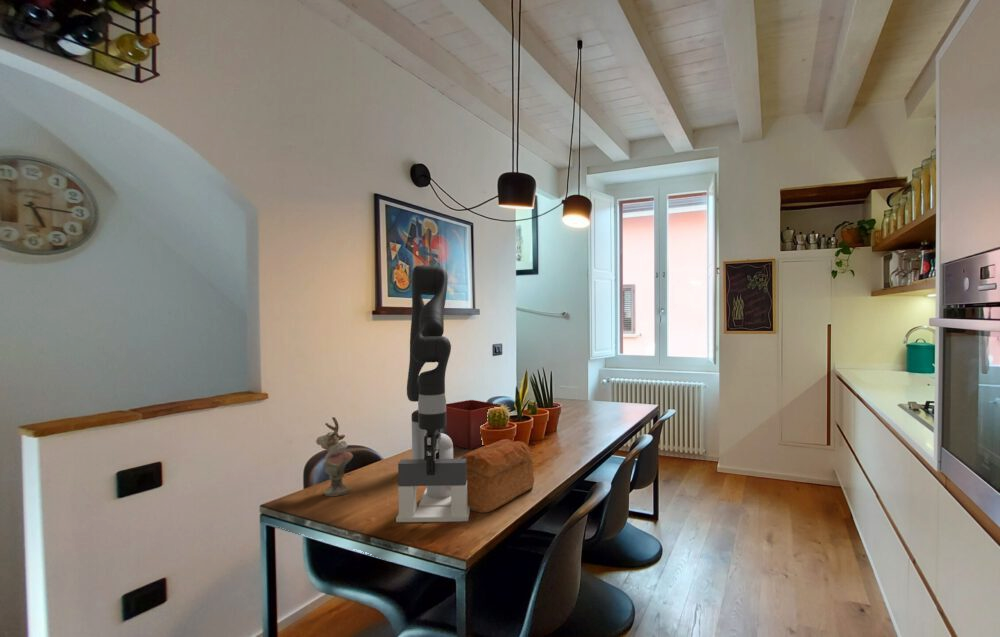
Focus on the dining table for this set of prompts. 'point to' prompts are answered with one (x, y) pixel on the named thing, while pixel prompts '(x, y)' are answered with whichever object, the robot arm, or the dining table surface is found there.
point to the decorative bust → (335, 459)
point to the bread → (498, 474)
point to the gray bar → (445, 475)
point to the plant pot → (466, 422)
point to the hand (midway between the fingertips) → (433, 469)
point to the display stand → (435, 498)
